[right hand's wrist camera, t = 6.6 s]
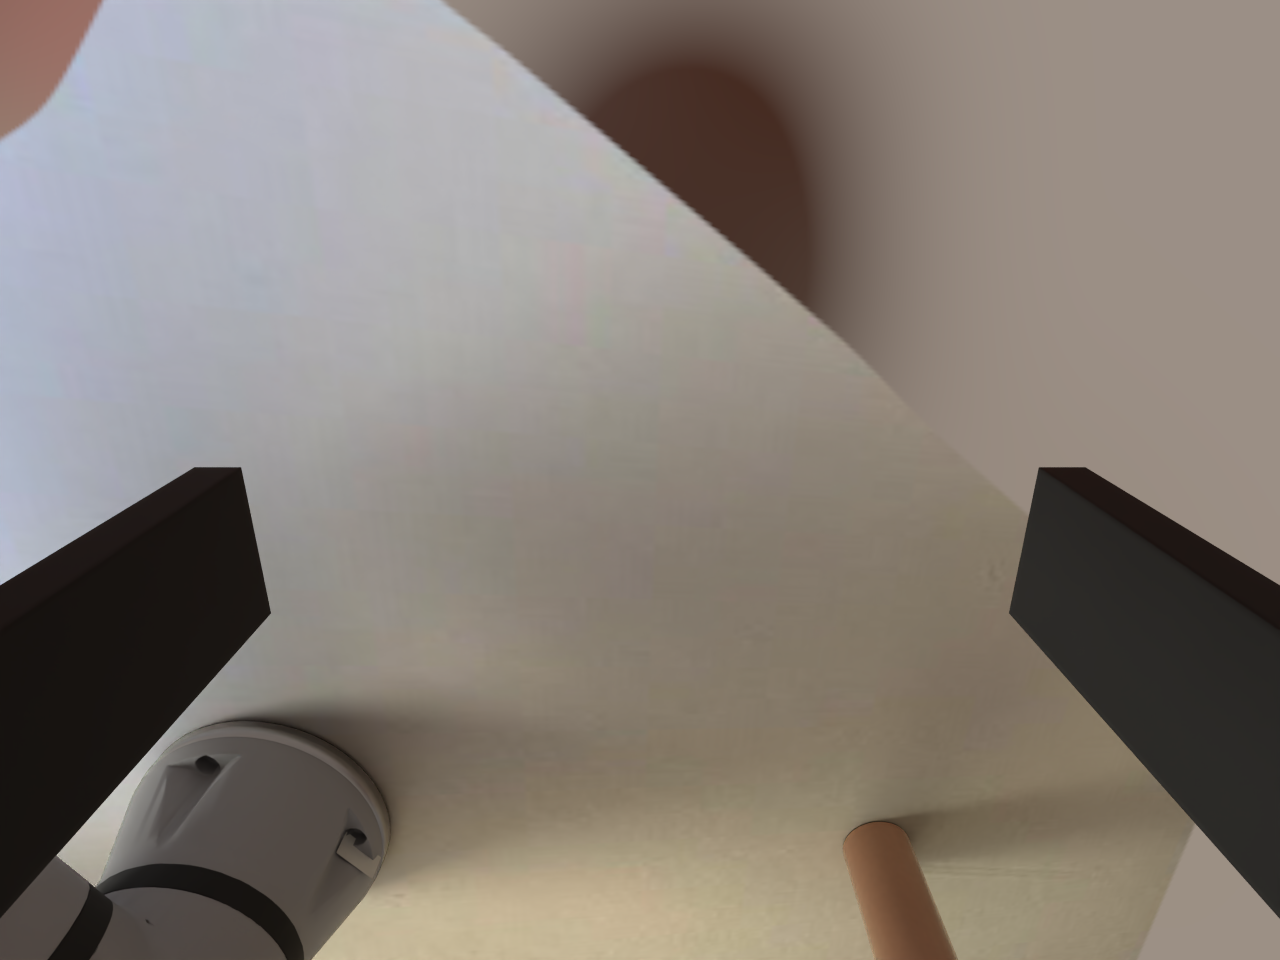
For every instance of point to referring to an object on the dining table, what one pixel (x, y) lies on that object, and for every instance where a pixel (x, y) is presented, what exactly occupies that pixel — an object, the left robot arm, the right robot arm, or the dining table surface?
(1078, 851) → the dining table surface
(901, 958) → the jar
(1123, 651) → the right robot arm
